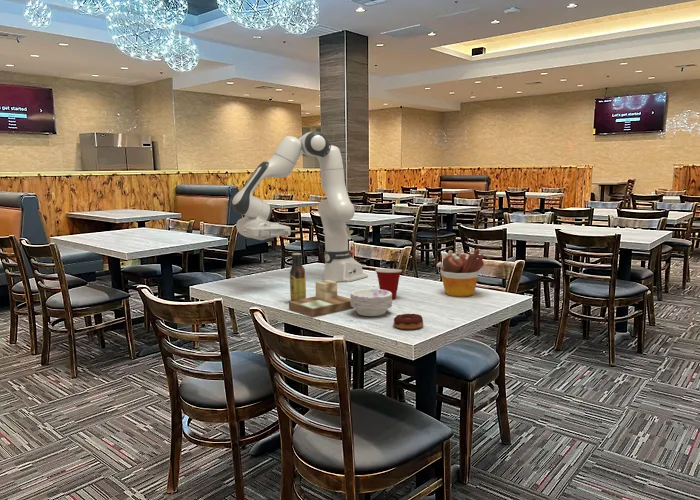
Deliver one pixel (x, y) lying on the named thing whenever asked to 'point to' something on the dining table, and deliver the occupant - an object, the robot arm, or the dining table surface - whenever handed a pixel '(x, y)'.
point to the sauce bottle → (297, 278)
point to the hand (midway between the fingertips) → (278, 233)
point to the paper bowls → (371, 301)
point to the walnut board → (320, 306)
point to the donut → (408, 321)
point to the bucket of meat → (460, 273)
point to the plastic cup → (389, 280)
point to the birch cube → (326, 289)
